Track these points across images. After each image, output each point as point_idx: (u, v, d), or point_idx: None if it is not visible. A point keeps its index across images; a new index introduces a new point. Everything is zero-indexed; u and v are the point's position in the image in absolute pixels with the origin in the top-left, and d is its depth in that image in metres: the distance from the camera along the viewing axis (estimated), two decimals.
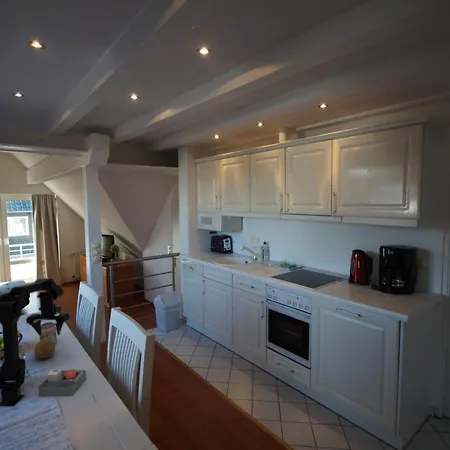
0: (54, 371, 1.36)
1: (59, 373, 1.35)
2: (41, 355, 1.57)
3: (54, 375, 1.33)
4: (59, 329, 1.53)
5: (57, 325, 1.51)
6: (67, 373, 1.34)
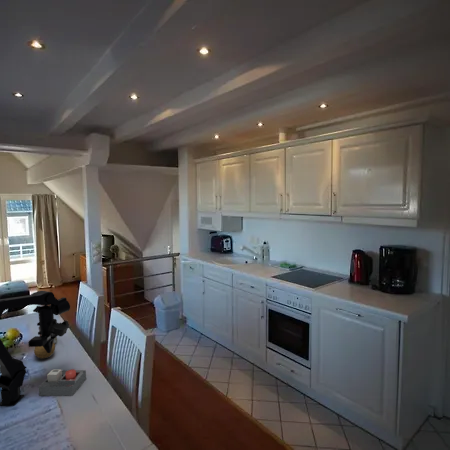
0: (54, 371, 1.36)
1: (59, 373, 1.35)
2: (41, 355, 1.57)
3: (54, 375, 1.33)
4: (45, 347, 1.40)
5: None
6: (67, 373, 1.34)
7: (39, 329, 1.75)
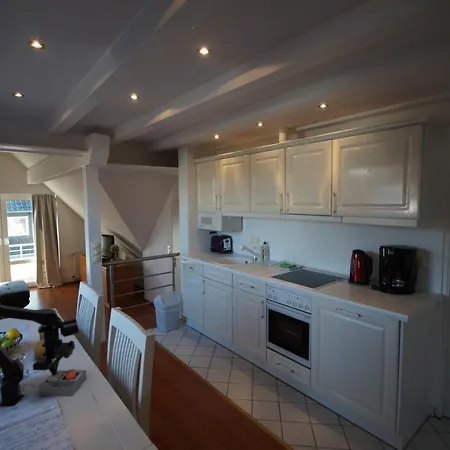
0: None
1: (59, 376, 1.35)
2: (41, 355, 1.57)
3: (54, 378, 1.33)
4: (50, 369, 1.34)
5: None
6: (67, 373, 1.34)
7: None
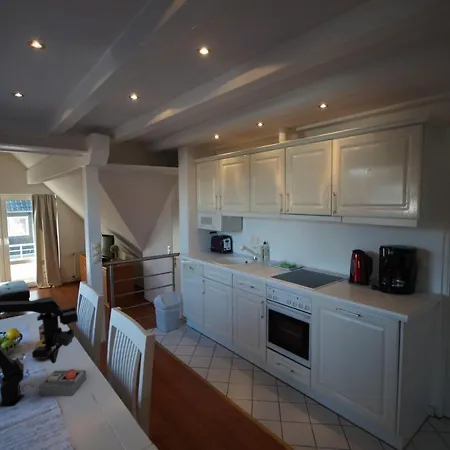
0: (54, 375, 1.36)
1: (59, 377, 1.35)
2: None
3: (54, 379, 1.33)
4: (49, 357, 1.33)
5: None
6: (67, 373, 1.34)
7: (39, 329, 1.75)
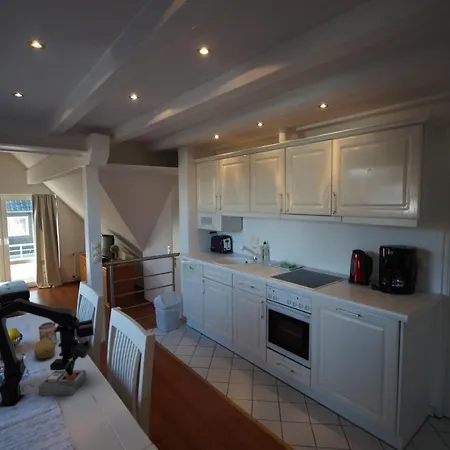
0: (54, 375, 1.36)
1: (59, 377, 1.35)
2: (41, 355, 1.57)
3: (54, 379, 1.33)
4: (66, 369, 1.34)
5: None
6: (67, 376, 1.34)
7: (39, 329, 1.75)
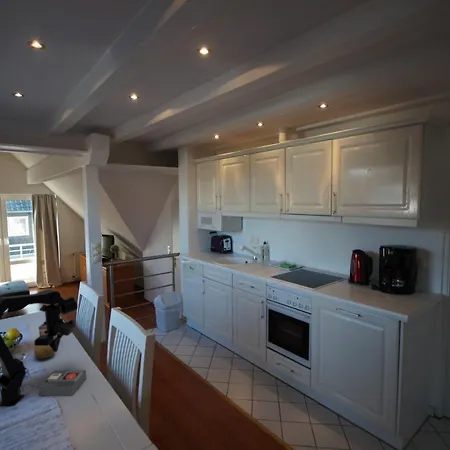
0: (54, 375, 1.36)
1: (59, 377, 1.35)
2: (41, 355, 1.57)
3: (54, 379, 1.33)
4: (51, 346, 1.41)
5: None
6: (67, 377, 1.34)
7: (39, 329, 1.75)
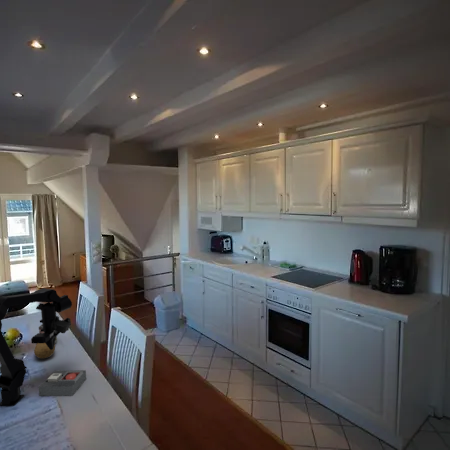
0: (54, 375, 1.36)
1: (59, 377, 1.35)
2: (41, 355, 1.57)
3: (54, 379, 1.33)
4: (47, 344, 1.42)
5: None
6: (67, 377, 1.34)
7: (39, 329, 1.75)
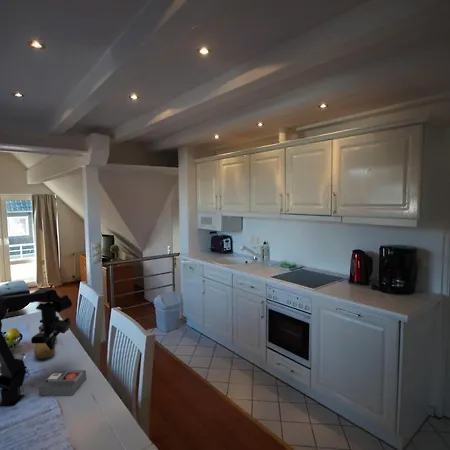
0: (54, 375, 1.36)
1: (59, 377, 1.35)
2: (41, 355, 1.57)
3: (54, 379, 1.33)
4: (47, 344, 1.42)
5: None
6: (67, 377, 1.34)
7: (39, 329, 1.75)
